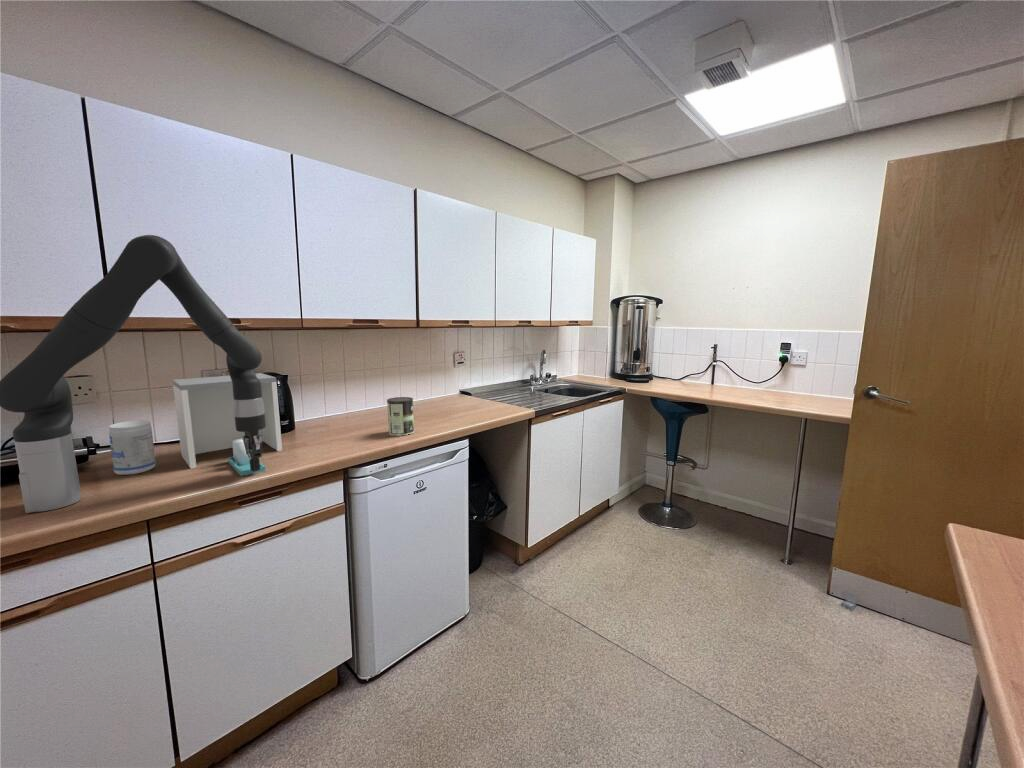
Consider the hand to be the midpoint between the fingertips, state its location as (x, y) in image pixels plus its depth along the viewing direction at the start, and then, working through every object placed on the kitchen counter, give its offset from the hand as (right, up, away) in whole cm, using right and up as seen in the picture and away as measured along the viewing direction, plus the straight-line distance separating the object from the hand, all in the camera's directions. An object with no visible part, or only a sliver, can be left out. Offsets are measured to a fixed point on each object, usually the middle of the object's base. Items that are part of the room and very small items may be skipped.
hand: (255, 470), depth 123 cm
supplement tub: (-39, -1, +3) cm, 39 cm away
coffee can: (+31, +5, +46) cm, 56 cm away
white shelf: (-20, +2, +20) cm, 29 cm away
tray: (-7, -1, +7) cm, 10 cm away
